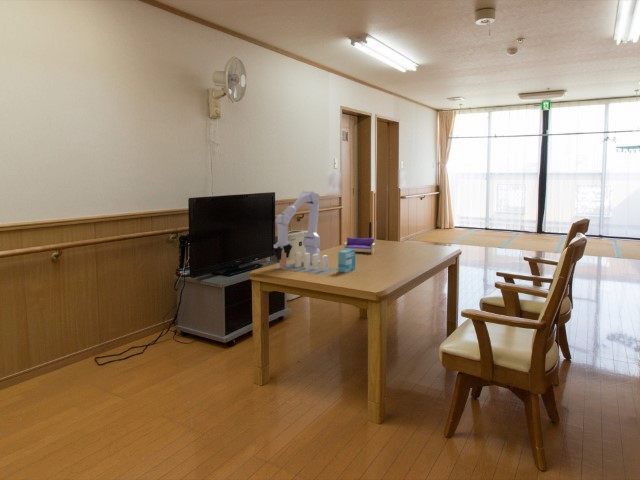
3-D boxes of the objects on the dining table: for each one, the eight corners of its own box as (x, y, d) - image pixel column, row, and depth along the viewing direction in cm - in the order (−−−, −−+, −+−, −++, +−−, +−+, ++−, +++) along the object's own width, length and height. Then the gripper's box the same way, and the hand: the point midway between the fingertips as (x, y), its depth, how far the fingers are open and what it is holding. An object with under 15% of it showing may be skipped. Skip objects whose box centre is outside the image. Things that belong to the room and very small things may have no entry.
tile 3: (307, 267, 268) (307, 252, 267) (310, 267, 267) (310, 253, 266) (303, 268, 265) (303, 254, 263) (306, 268, 264) (305, 254, 262)
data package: (344, 273, 253) (345, 252, 251) (337, 272, 256) (338, 251, 254) (355, 269, 263) (355, 249, 261) (348, 268, 266) (348, 248, 264)
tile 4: (316, 268, 265) (316, 253, 264) (318, 268, 264) (318, 254, 263) (312, 269, 262) (312, 255, 260) (314, 269, 261) (314, 255, 259)
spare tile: (284, 266, 269) (283, 252, 267) (286, 267, 268) (286, 253, 266) (279, 268, 265) (279, 253, 264) (281, 268, 264) (281, 254, 263)
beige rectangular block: (299, 265, 271) (299, 251, 270) (301, 266, 271) (301, 252, 269) (295, 267, 268) (295, 253, 266) (297, 267, 267) (297, 253, 266)
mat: (289, 263, 281) (289, 262, 281) (338, 269, 263) (338, 268, 263) (273, 268, 266) (273, 267, 266) (323, 275, 249) (323, 274, 249)
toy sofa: (343, 252, 317) (343, 238, 316) (345, 250, 325) (346, 236, 324) (372, 254, 311) (373, 239, 310) (375, 252, 319) (375, 237, 318)
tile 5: (325, 269, 262) (325, 254, 261) (327, 269, 261) (327, 255, 260) (321, 270, 258) (321, 256, 257) (323, 271, 258) (323, 256, 256)
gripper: (284, 233, 272) (284, 256, 274) (269, 236, 259) (269, 259, 261) (294, 234, 268) (294, 257, 270) (279, 237, 256) (279, 261, 258)
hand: (282, 258), depth 265 cm, fingers open, 7 cm apart
